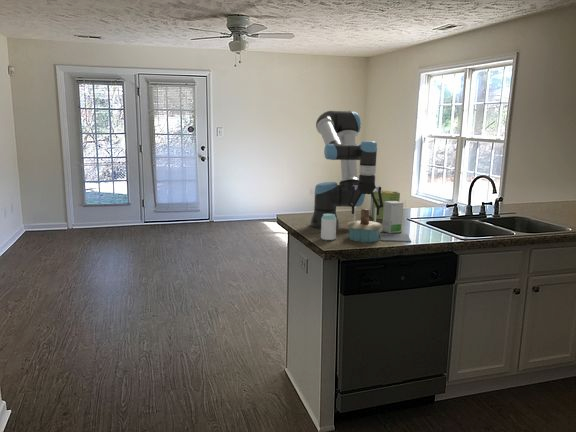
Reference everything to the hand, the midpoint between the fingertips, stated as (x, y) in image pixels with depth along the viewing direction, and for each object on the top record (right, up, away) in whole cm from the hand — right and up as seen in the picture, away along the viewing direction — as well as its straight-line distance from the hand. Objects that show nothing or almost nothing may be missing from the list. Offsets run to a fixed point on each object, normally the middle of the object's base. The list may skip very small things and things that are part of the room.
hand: (364, 221), depth 228 cm
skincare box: (+17, -6, +19) cm, 26 cm away
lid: (0, -2, 0) cm, 2 cm away
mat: (+15, -8, +4) cm, 18 cm away
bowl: (0, -8, +2) cm, 8 cm away
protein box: (+20, +1, +56) cm, 59 cm away
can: (-18, -9, -1) cm, 20 cm away
